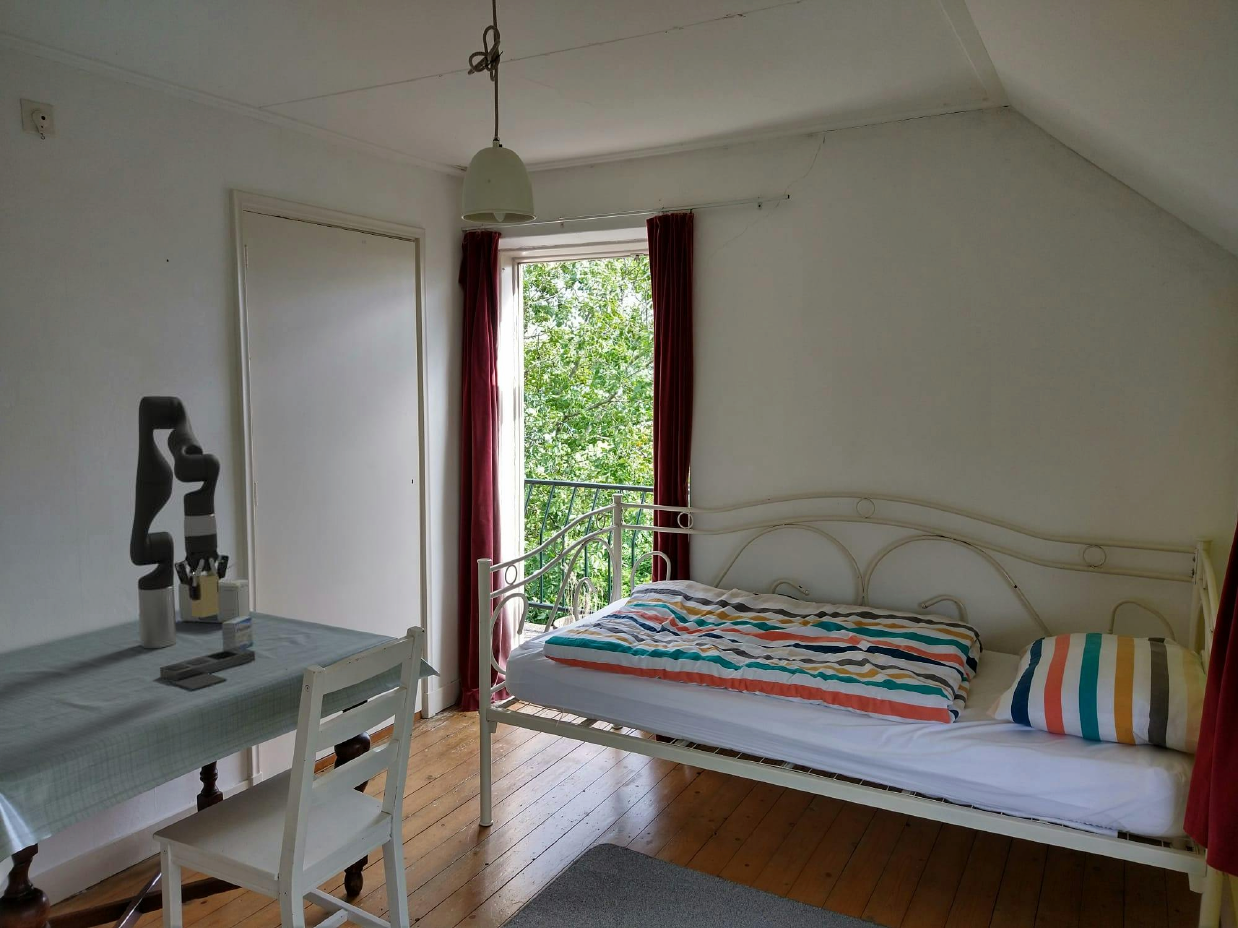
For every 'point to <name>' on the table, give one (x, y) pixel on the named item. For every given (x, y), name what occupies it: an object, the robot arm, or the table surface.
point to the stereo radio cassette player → (219, 601)
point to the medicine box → (237, 633)
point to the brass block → (206, 597)
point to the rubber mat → (199, 681)
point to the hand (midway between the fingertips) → (204, 597)
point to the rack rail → (207, 664)
